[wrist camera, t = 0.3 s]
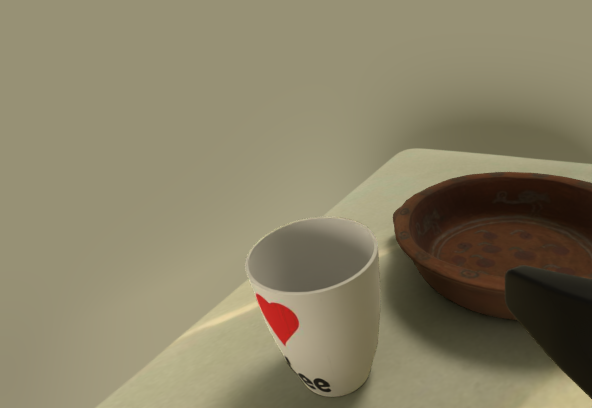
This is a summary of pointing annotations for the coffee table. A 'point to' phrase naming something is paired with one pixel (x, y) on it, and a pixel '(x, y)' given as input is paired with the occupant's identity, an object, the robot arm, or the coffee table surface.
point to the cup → (320, 299)
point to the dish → (495, 233)
